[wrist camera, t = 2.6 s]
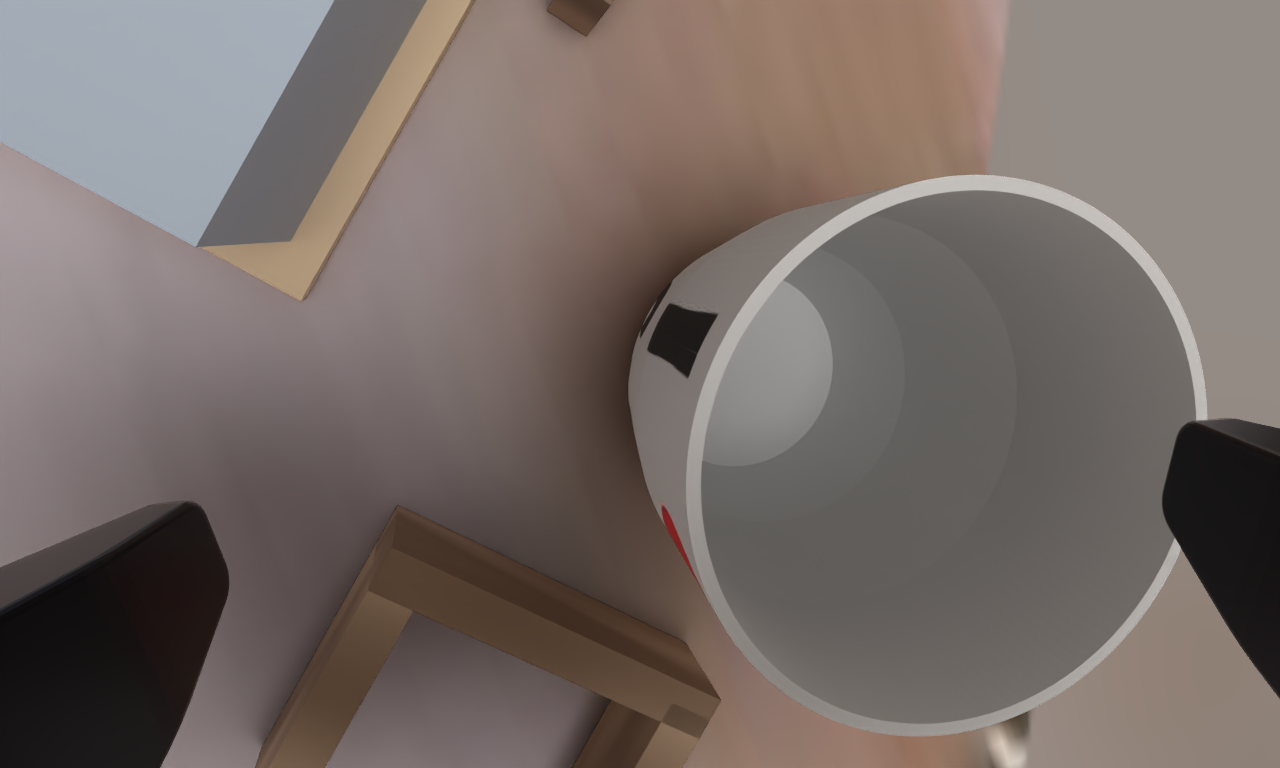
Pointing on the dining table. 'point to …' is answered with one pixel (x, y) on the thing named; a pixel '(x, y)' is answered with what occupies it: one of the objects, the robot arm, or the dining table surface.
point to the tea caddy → (222, 111)
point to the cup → (920, 445)
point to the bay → (580, 12)
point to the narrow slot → (510, 621)
